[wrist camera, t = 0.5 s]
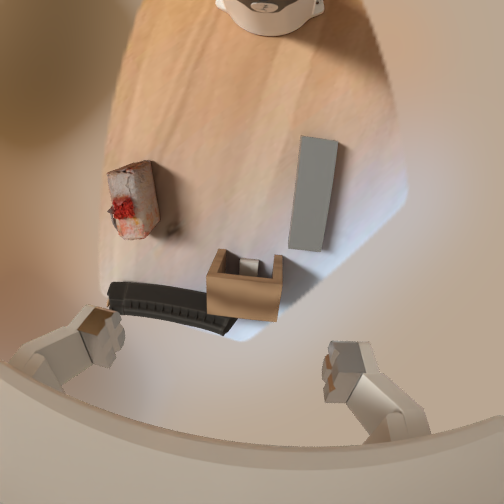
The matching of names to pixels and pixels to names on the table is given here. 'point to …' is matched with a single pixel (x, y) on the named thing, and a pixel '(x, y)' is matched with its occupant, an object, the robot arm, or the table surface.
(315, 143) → the grey channel riser
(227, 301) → the wooden arch
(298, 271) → the table surface
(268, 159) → the table surface
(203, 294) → the magazine
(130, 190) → the food item
